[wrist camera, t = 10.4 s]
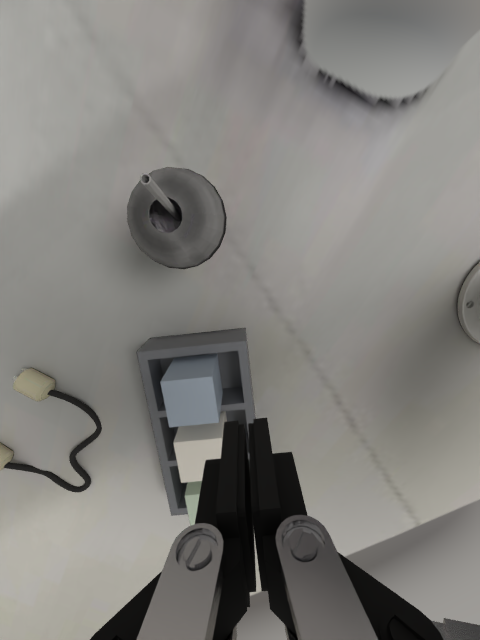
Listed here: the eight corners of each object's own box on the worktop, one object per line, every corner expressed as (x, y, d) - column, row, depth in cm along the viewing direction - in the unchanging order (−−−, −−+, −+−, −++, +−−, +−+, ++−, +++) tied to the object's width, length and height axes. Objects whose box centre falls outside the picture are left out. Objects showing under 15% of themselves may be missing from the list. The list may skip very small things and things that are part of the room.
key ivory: (224, 406, 35) (221, 438, 29) (229, 441, 36) (227, 478, 31) (184, 410, 35) (173, 442, 30) (190, 445, 37) (181, 482, 31)
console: (245, 327, 36) (246, 340, 31) (261, 476, 42) (264, 507, 37) (150, 338, 36) (136, 352, 31) (179, 484, 42) (171, 515, 37)
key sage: (231, 453, 37) (230, 491, 31) (236, 484, 38) (235, 527, 33) (193, 456, 37) (184, 495, 32) (198, 488, 39) (191, 531, 33)
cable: (135, 416, 40) (125, 432, 36) (82, 495, 43) (69, 517, 40) (29, 357, 37) (8, 368, 34) (-18, 446, 41) (-41, 464, 38)
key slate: (217, 353, 33) (212, 376, 27) (222, 392, 34) (219, 422, 29) (174, 357, 33) (160, 381, 28) (181, 396, 35) (169, 427, 29)
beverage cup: (162, 252, 34) (55, 262, 14) (174, 186, 32) (71, 96, 13) (223, 267, 34) (199, 298, 15) (238, 203, 32) (234, 142, 13)
